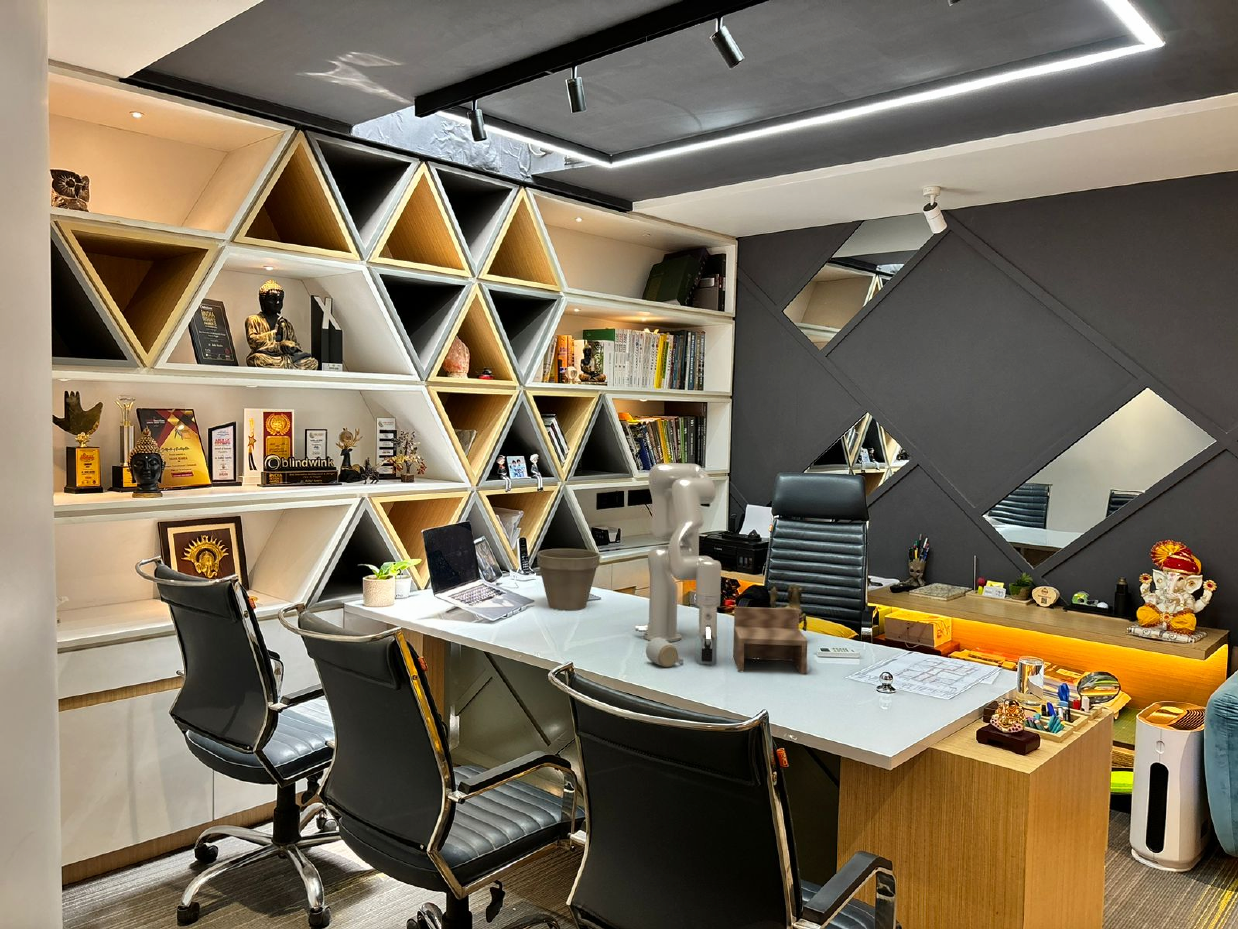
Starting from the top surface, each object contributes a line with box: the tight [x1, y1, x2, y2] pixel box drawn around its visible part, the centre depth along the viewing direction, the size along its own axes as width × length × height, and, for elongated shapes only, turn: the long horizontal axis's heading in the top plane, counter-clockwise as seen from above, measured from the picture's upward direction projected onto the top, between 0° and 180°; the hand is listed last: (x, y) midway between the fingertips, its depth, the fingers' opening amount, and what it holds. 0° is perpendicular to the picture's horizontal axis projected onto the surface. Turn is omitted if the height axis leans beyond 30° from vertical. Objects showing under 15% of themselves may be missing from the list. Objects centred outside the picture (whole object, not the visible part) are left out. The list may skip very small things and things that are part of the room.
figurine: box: [770, 583, 808, 632], centre depth 305 cm, size 13×25×20 cm, turn 134°
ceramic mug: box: [645, 637, 684, 668], centre depth 274 cm, size 11×8×8 cm
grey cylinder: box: [695, 633, 718, 666], centre depth 278 cm, size 6×6×8 cm
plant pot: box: [536, 548, 601, 612], centre depth 358 cm, size 25×25×22 cm
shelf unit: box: [732, 606, 808, 675], centre depth 276 cm, size 20×17×16 cm
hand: (706, 657), depth 278 cm, fingers closed on grey cylinder, 6 cm apart
